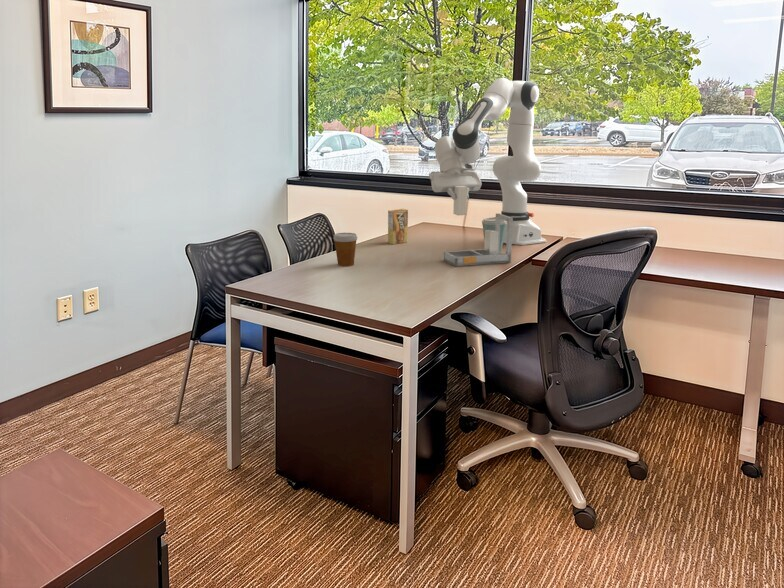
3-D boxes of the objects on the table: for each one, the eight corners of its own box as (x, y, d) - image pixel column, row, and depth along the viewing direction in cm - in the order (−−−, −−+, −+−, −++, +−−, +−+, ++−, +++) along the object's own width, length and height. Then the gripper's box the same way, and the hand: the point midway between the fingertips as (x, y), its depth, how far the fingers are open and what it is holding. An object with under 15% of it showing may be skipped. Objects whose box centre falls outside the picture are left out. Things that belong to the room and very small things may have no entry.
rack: (497, 256, 266) (499, 213, 261) (511, 262, 255) (513, 217, 250) (443, 260, 259) (444, 216, 254) (455, 266, 248) (456, 220, 243)
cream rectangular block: (461, 213, 255) (462, 185, 252) (466, 215, 250) (467, 186, 247) (453, 213, 254) (454, 185, 251) (458, 215, 249) (458, 187, 246)
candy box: (402, 241, 300) (402, 208, 296) (408, 242, 297) (408, 209, 293) (387, 243, 295) (387, 210, 291) (393, 244, 292) (393, 211, 288)
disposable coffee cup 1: (333, 262, 256) (333, 232, 253) (357, 261, 257) (357, 232, 254) (333, 267, 247) (332, 236, 244) (358, 267, 248) (357, 236, 245)
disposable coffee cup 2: (486, 255, 268) (488, 220, 264) (476, 250, 278) (477, 216, 274) (509, 254, 270) (511, 219, 266) (499, 249, 280) (500, 215, 276)
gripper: (429, 166, 251) (438, 194, 244) (477, 165, 256) (487, 192, 250) (425, 177, 256) (434, 204, 249) (472, 175, 262) (481, 202, 255)
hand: (461, 198), depth 250 cm, fingers closed on cream rectangular block, 3 cm apart
